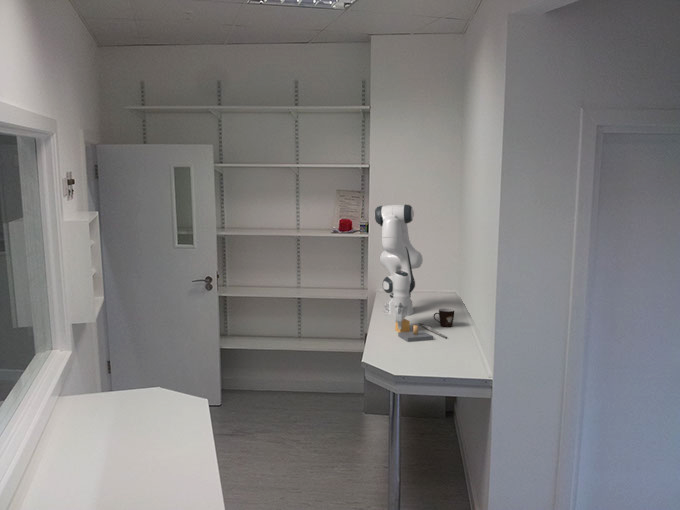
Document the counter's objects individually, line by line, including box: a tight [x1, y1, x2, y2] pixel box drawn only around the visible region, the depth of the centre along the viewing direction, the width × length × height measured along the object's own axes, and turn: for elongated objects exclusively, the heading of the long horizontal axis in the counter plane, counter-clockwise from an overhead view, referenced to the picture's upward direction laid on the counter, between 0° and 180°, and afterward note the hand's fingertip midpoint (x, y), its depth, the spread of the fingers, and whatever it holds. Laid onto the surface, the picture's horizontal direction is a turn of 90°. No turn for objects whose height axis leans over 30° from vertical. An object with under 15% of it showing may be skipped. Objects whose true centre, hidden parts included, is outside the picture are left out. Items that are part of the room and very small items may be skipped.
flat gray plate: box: [397, 324, 434, 343], centre depth 301 cm, size 12×14×6 cm
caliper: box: [417, 322, 448, 339], centre depth 315 cm, size 29×2×5 cm
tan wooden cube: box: [394, 318, 411, 333], centre depth 316 cm, size 6×6×6 cm
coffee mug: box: [433, 307, 455, 328], centre depth 325 cm, size 12×9×10 cm
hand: (400, 327), depth 316 cm, fingers closed on tan wooden cube, 7 cm apart
